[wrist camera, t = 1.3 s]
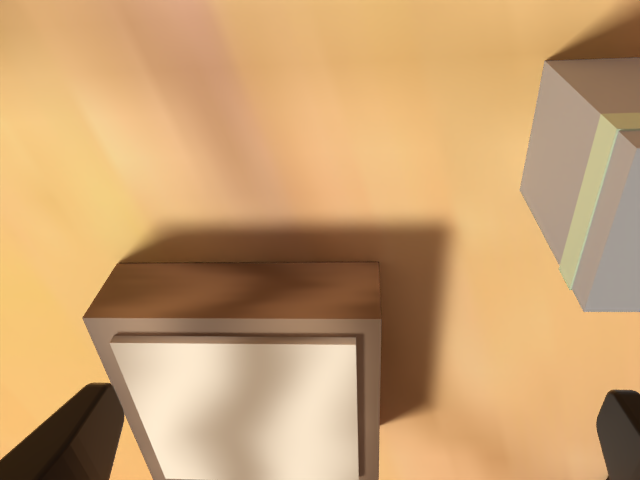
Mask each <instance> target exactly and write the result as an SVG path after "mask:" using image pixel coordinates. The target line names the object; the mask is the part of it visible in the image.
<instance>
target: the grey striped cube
mask: <svg viewBox="0 0 640 480" xmlns="http://www.w3.org/2000/svg"><path fill="white" fill-rule="evenodd" d="M520 191H521V193H522V195H523V197H524V199H525V201H526V203H527V205H528V207H529V209H530V210H531V212H532V214H533V216H534V218H535V220H536V222H537V224H538V226H539V228H540V230H541V231H542V233H543V235H544V237H545V239H546V241H547V243H548V245H549V247H550V249H551V250H552V252H553V254H554V256H555V258H556V260H557V262H558V264H559V271H560V273H561V275H562V277H563V278H564V280H565V282H566V284H567V286H568V288H569V290H573V292H574V294H575V296H576V298H577V300H578V302H579V304H580V306H581V308H582V309H583V311H584V312H640V57H632V58H606V59H579V60H552V61H545V62H544V67H543V72H542V77H541V83H540V88H539V93H538V98H537V103H536V109H535V114H534V119H533V124H532V129H531V134H530V140H529V145H528V150H527V155H526V160H525V166H524V171H523V176H522V181H521V186H520Z"/></svg>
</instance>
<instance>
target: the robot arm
mask: <svg viewBox="0 0 640 480" xmlns="http://www.w3.org/2000/svg"><path fill="white" fill-rule="evenodd" d="M123 423H124V409H123V407H122V404H121V402H120V400H119V398H118V395H117V393H116V391H115V388H114V387H113V385H111V384H110V383H90V384H88V385H86V386H85V387H83V388H82V389H81V390H80V391H79V392H78V393H77V394H75V395H74V396H73V397H72V398H71V399H70V400H69V401H67V402H66V403H65V404H64V405H63V406H62V407H61V408H59V409H58V410H57V411H56V412H55V413H54V414H52V415H51V416H50V417H49V418H48V419H47V420H46V421H44V422H43V423H42V424H41V425H40V426H39V427H38V428H36V429H35V430H34V431H33V432H32V433H31V434H30V435H28V436H27V437H26V438H25V439H24V440H23V441H22V442H20V443H19V444H18V445H17V446H16V447H15V448H13V449H12V450H11V451H10V452H9V453H8V454H7V455H5V456H4V457H3V458H2V459H1V460H0V480H109V478H110V474H111V470H112V466H113V462H114V458H115V454H116V450H117V447H118V443H119V439H120V435H121V431H122V427H123ZM596 427H597V433H598V437H599V440H600V444H601V448H602V452H603V456H604V459H605V463H606V467H607V471H608V474H609V477H608V478H607V479H606V480H640V394H639V393H638V392H636V391H633V390H611V391H609V392H608V393H607V395H606V397H605V400H604V402H603V405H602V407H601V409H600V412H599V414H598V417H597V422H596Z"/></svg>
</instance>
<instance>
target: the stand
mask: <svg viewBox="0 0 640 480" xmlns="http://www.w3.org/2000/svg"><path fill="white" fill-rule="evenodd" d="M83 320H84V323H85V325H86V327H87V329H88V332H89V334H90V336H91V339H92V341H93V343H94V345H95V348H96V350H97V352H98V355H99V357H100V359H101V361H102V364H103V366H104V368H105V371H106V373H107V375H108V377H109V380H110V382H111V384H112V385H113V387H114V388H115V391H116V393H117V395H118V398H119V400H120V402H121V404H122V407H123V409H124V414H125V416H126V418H127V421H128V423H129V425H130V428H131V430H132V432H133V434H134V437H135V439H136V441H137V443H138V446H139V448H140V450H141V453H142V455H143V457H144V459H145V462H146V464H147V466H148V469H149V471H150V473H151V475H152V478H153V480H378V479H379V427H380V376H381V324H382V317H381V298H380V279H379V262H303V263H120V264H116V266H115V268H114V269H113V271H112V272H111V274H110V275H109V277H108V279H107V280H106V282H105V283H104V285H103V286H102V288H101V290H100V291H99V293H98V294H97V296H96V297H95V299H94V301H93V302H92V304H91V305H90V307H89V308H88V310H87V312H86V313H85V315H84V316H83Z"/></svg>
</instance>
